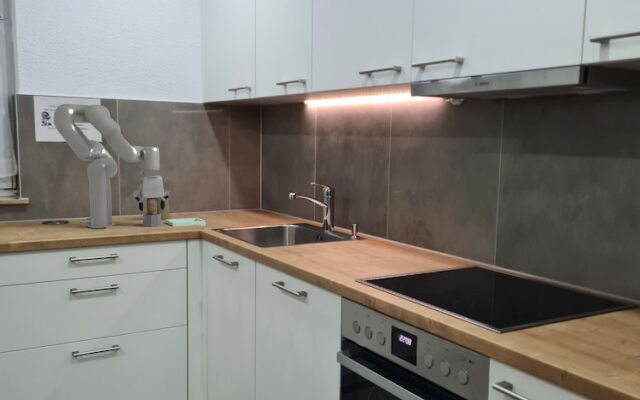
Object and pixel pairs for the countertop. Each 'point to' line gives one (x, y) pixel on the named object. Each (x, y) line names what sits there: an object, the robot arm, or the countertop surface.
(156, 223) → the grey block
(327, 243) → the countertop surface
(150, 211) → the walnut pin
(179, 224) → the pale green tray
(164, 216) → the squeeze bottle
